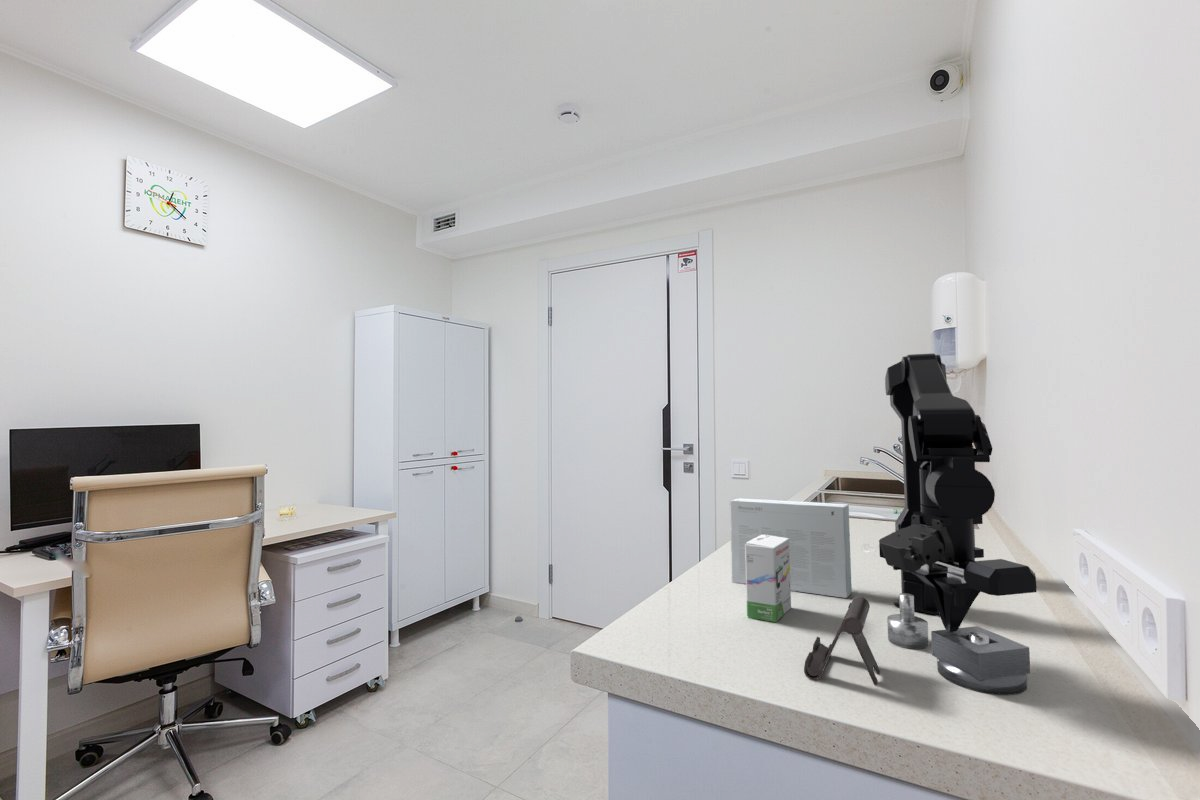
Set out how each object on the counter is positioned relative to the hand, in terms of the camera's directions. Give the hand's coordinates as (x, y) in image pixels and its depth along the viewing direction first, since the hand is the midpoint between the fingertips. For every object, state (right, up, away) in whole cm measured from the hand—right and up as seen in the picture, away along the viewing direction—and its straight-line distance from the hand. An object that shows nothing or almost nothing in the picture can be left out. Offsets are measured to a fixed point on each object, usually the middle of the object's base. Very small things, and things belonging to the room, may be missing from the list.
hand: (951, 630), depth 71 cm
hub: (+2, -5, -2) cm, 6 cm away
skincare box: (-9, -6, +35) cm, 37 cm away
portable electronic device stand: (-14, -5, 0) cm, 14 cm away
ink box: (-16, -6, +21) cm, 27 cm away
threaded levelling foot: (-1, -5, +8) cm, 10 cm away
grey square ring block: (+2, -3, -2) cm, 4 cm away
